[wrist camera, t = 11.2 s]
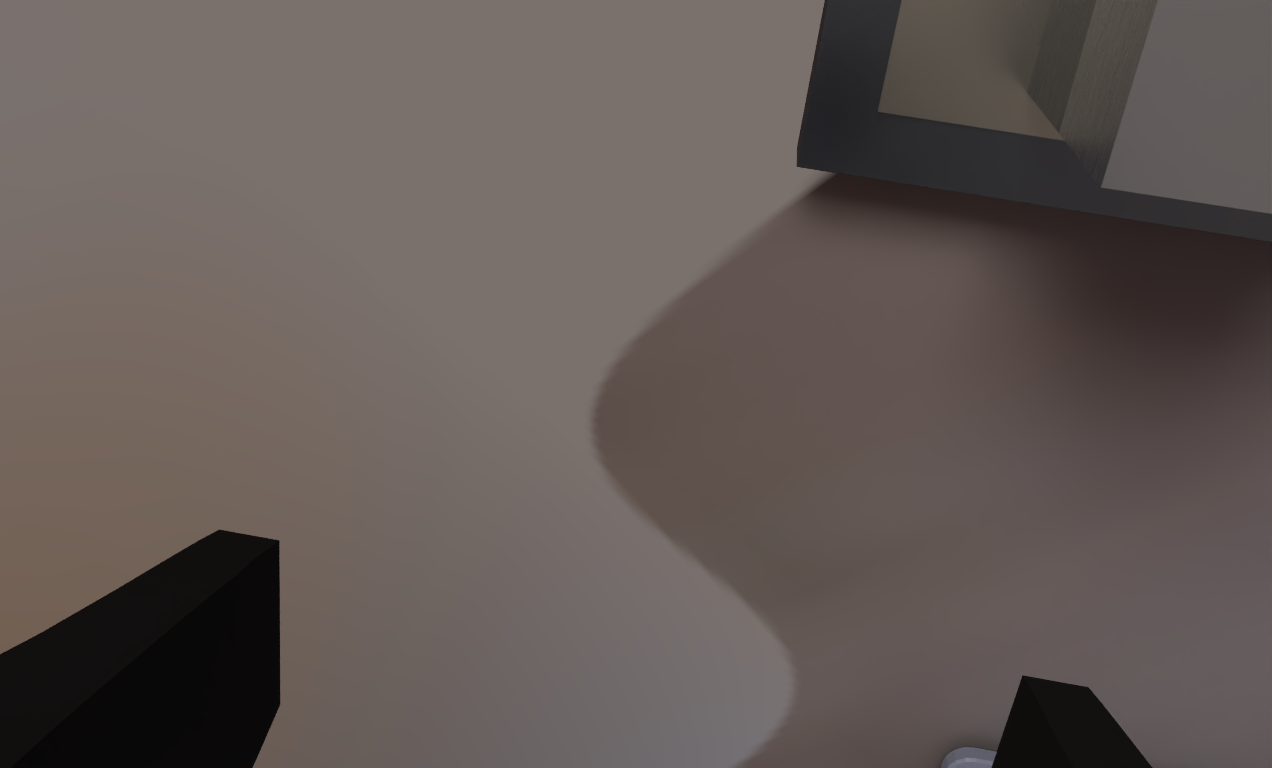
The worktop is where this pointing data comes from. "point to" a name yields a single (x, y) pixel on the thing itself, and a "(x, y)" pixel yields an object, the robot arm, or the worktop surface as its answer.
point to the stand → (961, 111)
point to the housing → (1163, 95)
